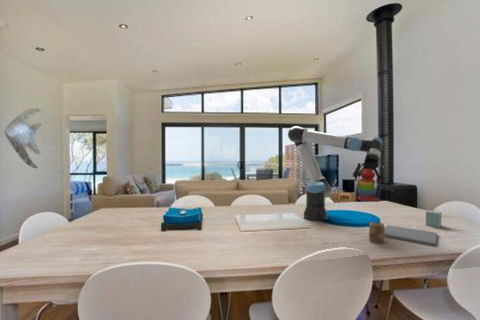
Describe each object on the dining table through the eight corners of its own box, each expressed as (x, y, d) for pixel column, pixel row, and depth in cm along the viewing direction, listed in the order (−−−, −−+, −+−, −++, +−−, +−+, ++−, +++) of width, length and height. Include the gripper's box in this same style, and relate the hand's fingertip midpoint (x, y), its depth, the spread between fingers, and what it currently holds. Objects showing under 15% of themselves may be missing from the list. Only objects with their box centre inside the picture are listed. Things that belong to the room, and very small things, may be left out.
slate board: (380, 235, 124) (380, 233, 124) (387, 227, 139) (387, 224, 139) (435, 246, 110) (435, 243, 110) (436, 235, 125) (436, 232, 125)
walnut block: (369, 241, 116) (370, 225, 116) (369, 238, 121) (369, 222, 121) (384, 243, 113) (384, 226, 113) (383, 239, 119) (383, 223, 118)
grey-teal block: (425, 225, 143) (425, 211, 143) (428, 223, 147) (428, 210, 146) (438, 227, 138) (438, 213, 138) (441, 225, 142) (441, 212, 142)
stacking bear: (381, 202, 132) (382, 169, 132) (363, 201, 132) (363, 169, 132) (371, 198, 143) (371, 168, 143) (353, 198, 143) (354, 168, 143)
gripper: (393, 162, 142) (388, 192, 130) (354, 161, 156) (346, 189, 144) (392, 153, 138) (387, 183, 126) (352, 153, 152) (344, 181, 140)
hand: (365, 186), depth 135 cm, fingers closed on stacking bear, 9 cm apart
